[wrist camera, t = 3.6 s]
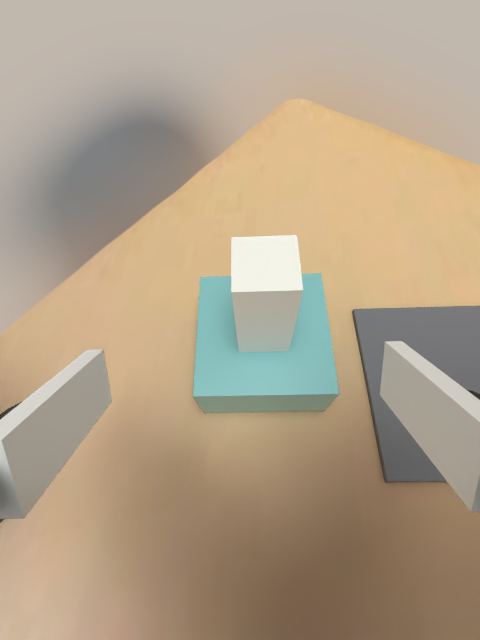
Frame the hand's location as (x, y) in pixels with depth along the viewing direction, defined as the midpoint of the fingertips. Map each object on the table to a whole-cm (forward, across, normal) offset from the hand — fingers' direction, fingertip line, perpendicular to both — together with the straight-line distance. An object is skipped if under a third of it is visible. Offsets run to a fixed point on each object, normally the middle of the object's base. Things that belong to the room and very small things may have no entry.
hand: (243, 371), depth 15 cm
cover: (+16, +2, -6) cm, 17 cm away
